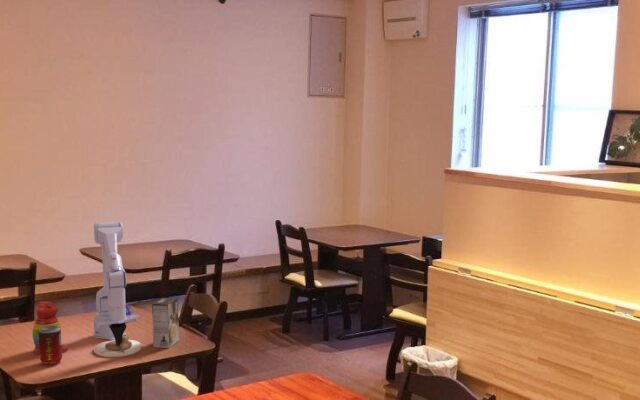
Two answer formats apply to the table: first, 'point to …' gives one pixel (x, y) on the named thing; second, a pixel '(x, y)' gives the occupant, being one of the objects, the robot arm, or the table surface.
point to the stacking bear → (45, 321)
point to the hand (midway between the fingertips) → (118, 344)
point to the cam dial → (124, 345)
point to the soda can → (50, 345)
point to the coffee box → (165, 322)
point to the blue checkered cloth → (129, 311)
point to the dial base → (104, 352)
